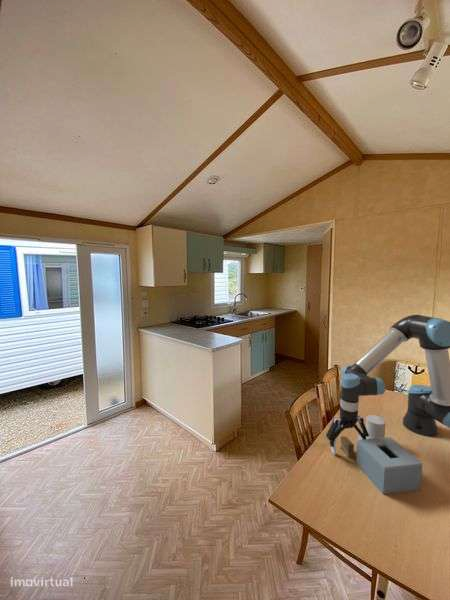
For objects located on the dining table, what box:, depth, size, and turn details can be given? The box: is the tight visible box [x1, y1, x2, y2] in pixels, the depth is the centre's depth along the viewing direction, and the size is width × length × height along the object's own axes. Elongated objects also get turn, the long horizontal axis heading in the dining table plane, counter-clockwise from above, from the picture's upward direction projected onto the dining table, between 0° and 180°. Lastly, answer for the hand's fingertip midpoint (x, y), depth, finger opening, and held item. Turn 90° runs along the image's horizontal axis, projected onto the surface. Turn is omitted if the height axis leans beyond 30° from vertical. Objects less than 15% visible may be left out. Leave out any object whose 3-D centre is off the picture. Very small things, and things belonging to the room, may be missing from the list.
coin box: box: [355, 436, 424, 495], centre depth 106 cm, size 16×16×11 cm
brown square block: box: [340, 436, 355, 458], centre depth 120 cm, size 2×6×6 cm, turn 7°
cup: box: [365, 414, 386, 439], centre depth 126 cm, size 8×8×12 cm
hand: (346, 451), depth 120 cm, fingers open, 13 cm apart
